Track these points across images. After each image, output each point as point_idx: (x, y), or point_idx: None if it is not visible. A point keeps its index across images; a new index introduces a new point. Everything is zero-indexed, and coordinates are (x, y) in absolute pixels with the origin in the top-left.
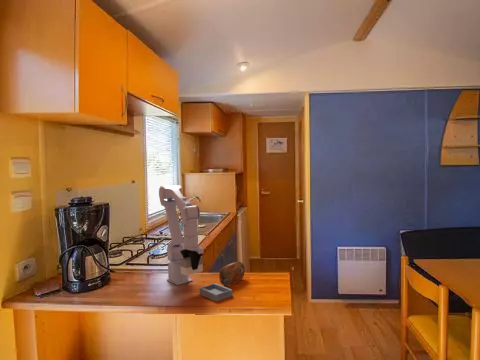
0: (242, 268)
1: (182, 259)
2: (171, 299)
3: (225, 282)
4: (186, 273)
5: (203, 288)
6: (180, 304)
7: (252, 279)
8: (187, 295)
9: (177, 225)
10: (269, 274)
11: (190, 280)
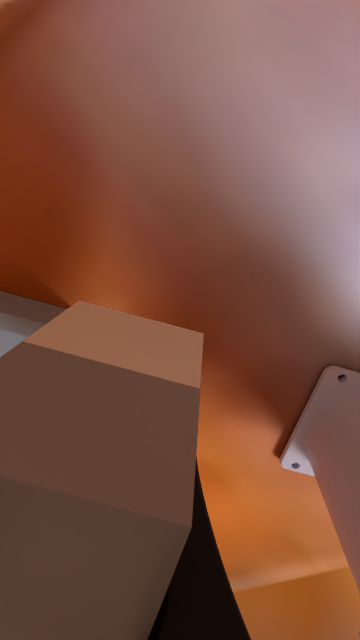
0: None
1: (80, 502)
2: (165, 113)
3: None
4: (66, 313)
5: (21, 330)
6: (26, 73)
7: None
8: (123, 250)
9: None
10: None
11: (286, 453)
